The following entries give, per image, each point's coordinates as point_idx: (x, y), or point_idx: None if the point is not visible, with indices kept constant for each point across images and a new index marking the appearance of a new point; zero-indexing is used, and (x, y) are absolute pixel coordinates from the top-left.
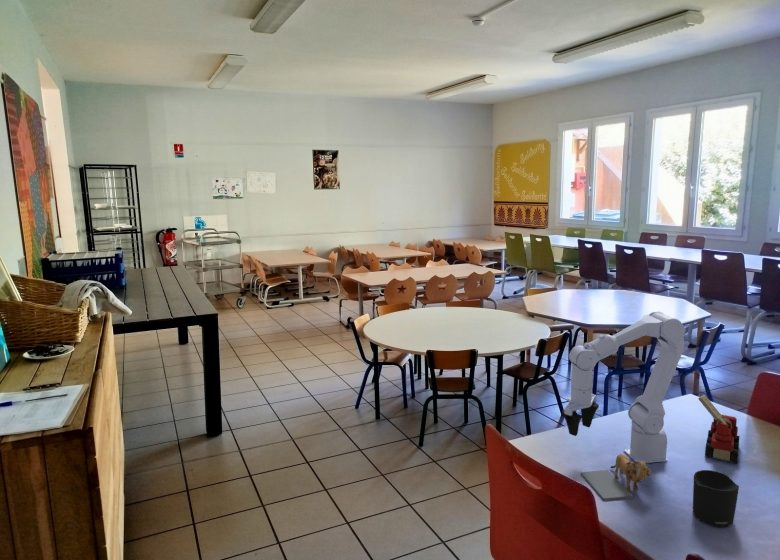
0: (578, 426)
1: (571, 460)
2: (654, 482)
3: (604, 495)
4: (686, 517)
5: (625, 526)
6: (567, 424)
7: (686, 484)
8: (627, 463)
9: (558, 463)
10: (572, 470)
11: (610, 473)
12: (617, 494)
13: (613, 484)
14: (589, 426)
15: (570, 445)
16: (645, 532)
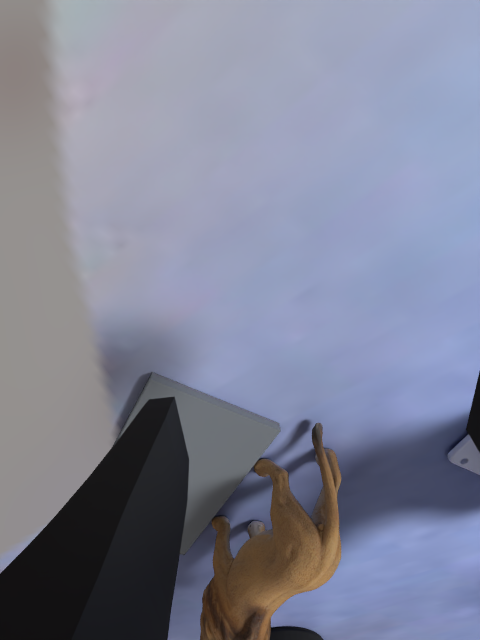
0: (166, 613)
1: (234, 255)
2: (343, 534)
3: None
4: None
5: None
6: (67, 510)
7: (405, 575)
8: (254, 613)
9: (132, 228)
10: (144, 327)
11: (262, 451)
12: None
13: (191, 496)
14: (477, 442)
15: (423, 108)
16: None
